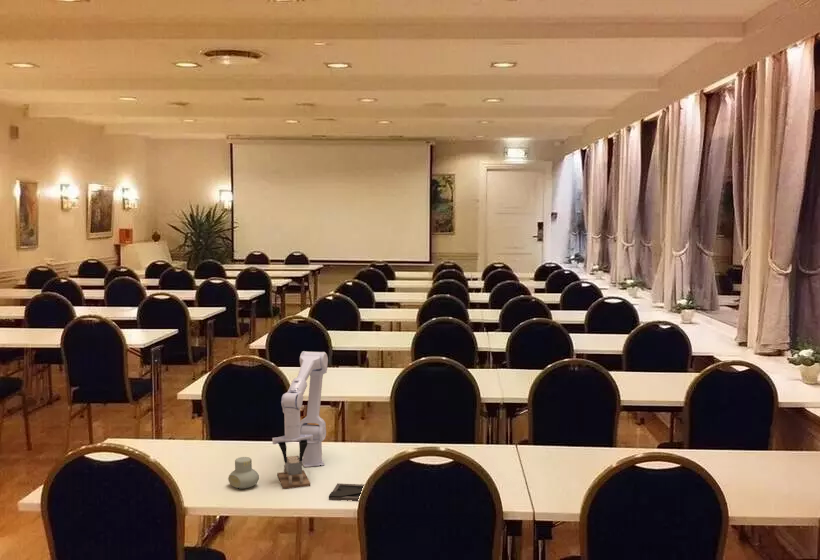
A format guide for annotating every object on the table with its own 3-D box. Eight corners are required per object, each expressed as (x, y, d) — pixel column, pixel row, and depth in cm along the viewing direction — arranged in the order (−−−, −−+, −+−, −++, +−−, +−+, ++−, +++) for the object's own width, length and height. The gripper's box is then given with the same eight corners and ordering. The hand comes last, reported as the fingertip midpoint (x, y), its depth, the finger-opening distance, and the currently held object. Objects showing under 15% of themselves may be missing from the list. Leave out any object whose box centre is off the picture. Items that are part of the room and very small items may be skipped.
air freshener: (225, 485, 289) (224, 458, 288) (243, 479, 295) (243, 453, 294) (243, 492, 282) (243, 465, 281) (262, 486, 288) (261, 459, 287)
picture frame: (328, 501, 274) (380, 503, 272) (328, 495, 274) (380, 498, 272) (337, 487, 288) (386, 489, 285) (337, 482, 287) (386, 484, 285)
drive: (284, 467, 297) (284, 456, 296) (298, 466, 298) (298, 455, 298) (288, 475, 288) (288, 463, 288) (302, 473, 289) (301, 462, 289)
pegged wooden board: (277, 475, 299) (277, 465, 299) (303, 472, 302) (303, 462, 302) (282, 489, 285) (282, 478, 284) (310, 486, 288) (310, 475, 287)
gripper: (273, 429, 286) (274, 466, 287) (313, 426, 290) (314, 462, 291) (271, 424, 292) (272, 460, 294) (310, 421, 296) (311, 456, 298)
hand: (293, 461), depth 293 cm, fingers closed on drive, 5 cm apart
